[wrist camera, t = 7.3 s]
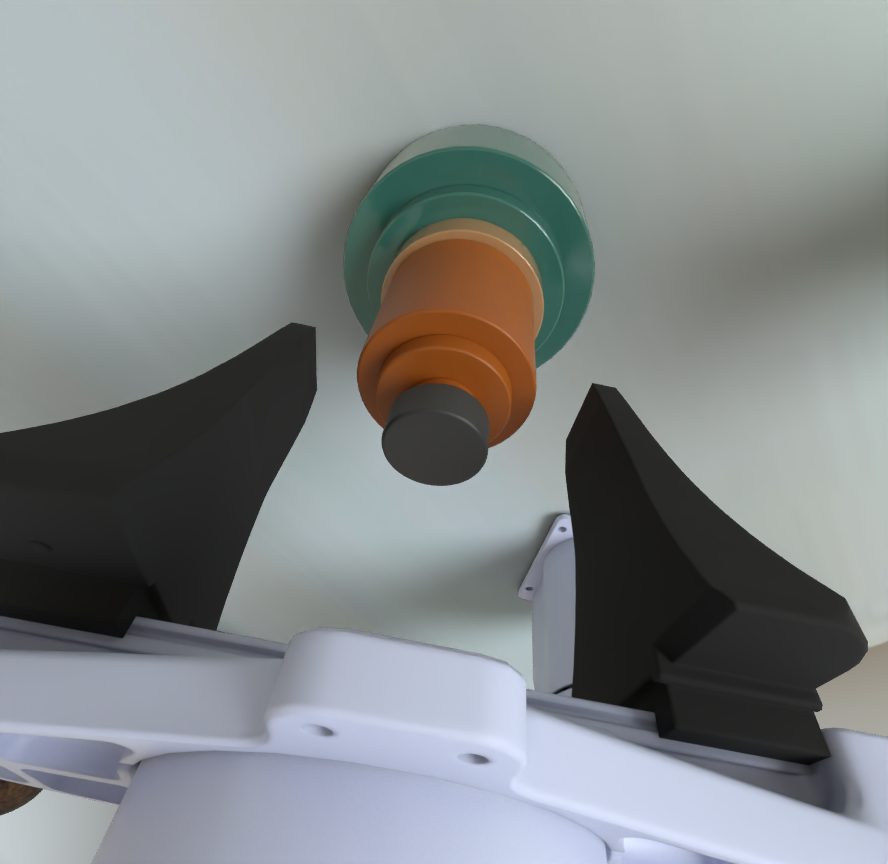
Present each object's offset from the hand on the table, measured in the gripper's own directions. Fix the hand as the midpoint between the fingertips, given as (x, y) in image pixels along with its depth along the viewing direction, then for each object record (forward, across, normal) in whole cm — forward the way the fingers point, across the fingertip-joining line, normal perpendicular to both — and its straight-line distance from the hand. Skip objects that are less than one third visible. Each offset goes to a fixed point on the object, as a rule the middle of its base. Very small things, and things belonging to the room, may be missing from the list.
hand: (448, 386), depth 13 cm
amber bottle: (+4, 0, 0) cm, 4 cm away
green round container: (+9, 0, 0) cm, 9 cm away
